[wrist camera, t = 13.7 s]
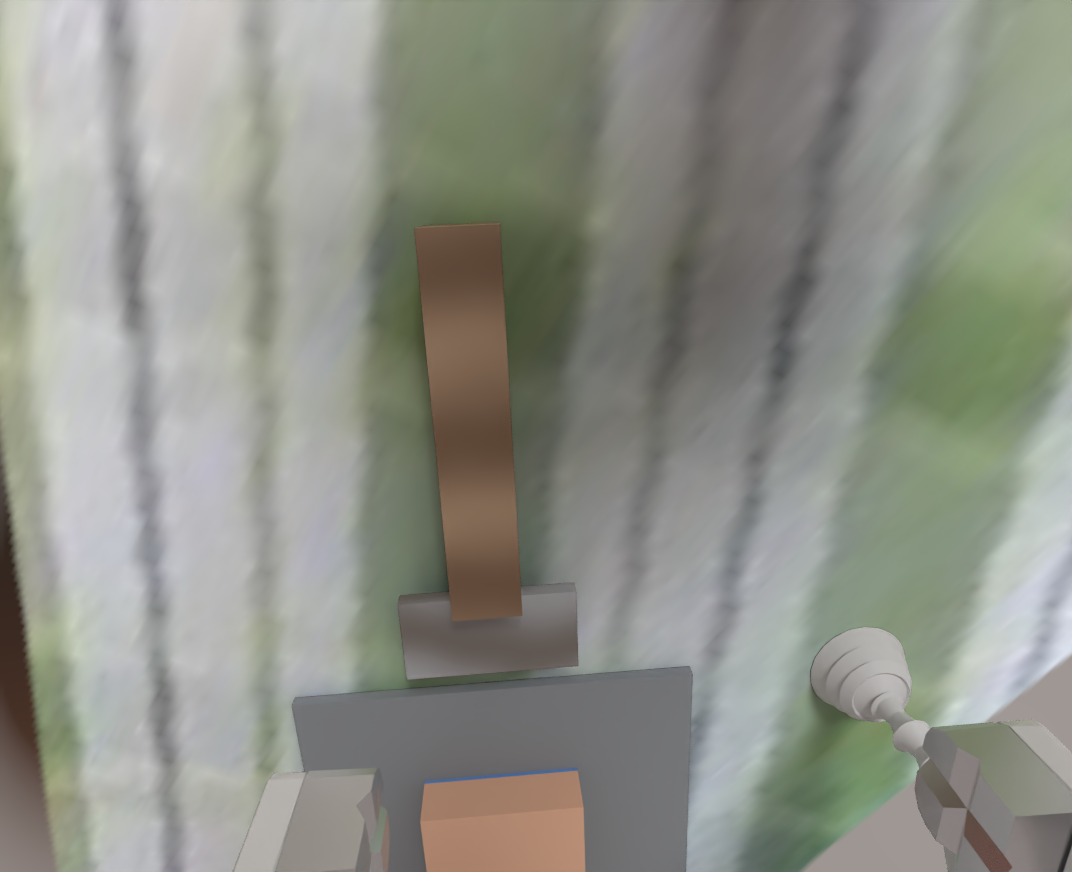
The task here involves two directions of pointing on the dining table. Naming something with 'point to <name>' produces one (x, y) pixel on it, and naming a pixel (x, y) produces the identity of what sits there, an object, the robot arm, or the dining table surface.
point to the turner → (476, 478)
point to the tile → (504, 823)
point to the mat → (525, 753)
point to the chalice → (872, 688)
